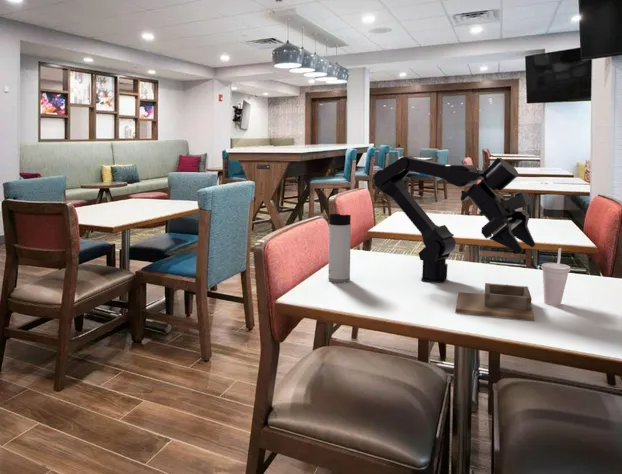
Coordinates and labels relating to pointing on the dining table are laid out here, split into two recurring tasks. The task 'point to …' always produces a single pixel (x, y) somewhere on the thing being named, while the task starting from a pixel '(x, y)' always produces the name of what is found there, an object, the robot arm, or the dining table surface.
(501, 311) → the holder
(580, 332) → the dining table surface
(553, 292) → the smoothie
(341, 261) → the travel mug
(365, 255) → the dining table surface
